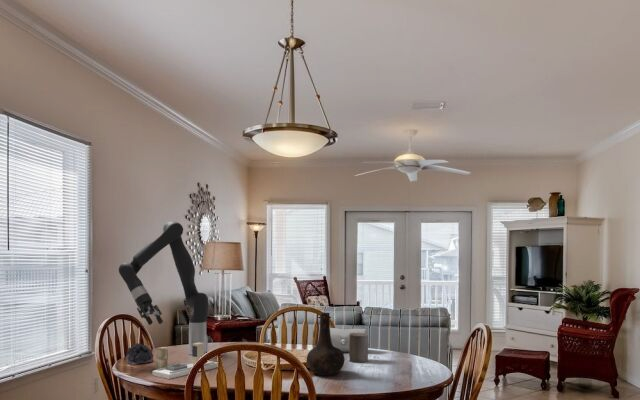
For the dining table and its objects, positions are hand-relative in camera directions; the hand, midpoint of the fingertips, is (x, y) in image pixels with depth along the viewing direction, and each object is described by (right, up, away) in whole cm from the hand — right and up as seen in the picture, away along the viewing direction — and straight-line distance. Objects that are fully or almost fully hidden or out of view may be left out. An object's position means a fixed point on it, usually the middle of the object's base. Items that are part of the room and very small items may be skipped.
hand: (156, 323), depth 288 cm
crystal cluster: (-11, -22, +8) cm, 25 cm away
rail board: (+18, -20, -13) cm, 30 cm away
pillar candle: (+102, -21, +8) cm, 104 cm away
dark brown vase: (+84, -19, -19) cm, 89 cm away
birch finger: (+5, -20, -7) cm, 22 cm away
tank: (+96, -23, +31) cm, 103 cm away
